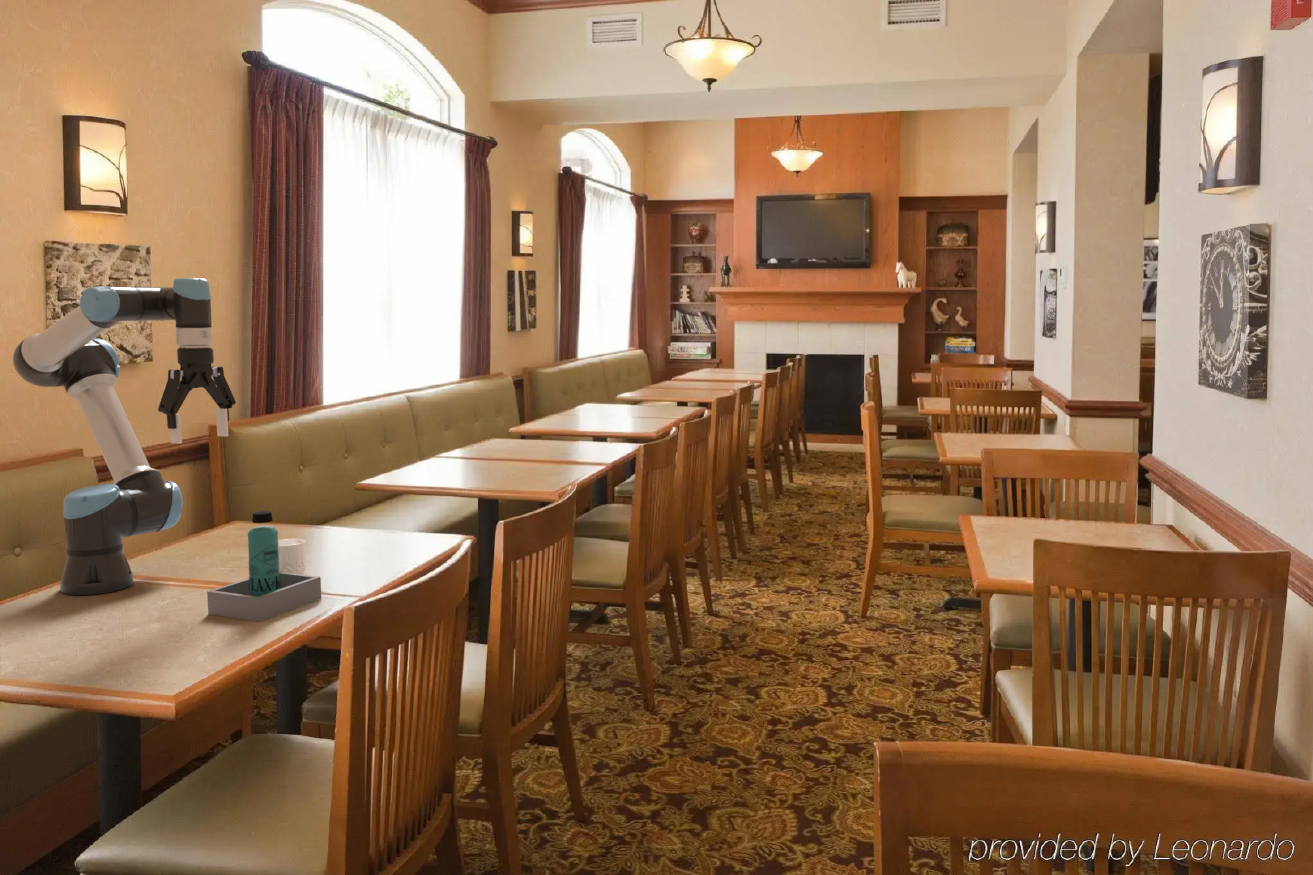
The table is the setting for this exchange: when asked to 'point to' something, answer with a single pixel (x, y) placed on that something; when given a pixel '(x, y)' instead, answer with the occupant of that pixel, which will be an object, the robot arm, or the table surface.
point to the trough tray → (263, 598)
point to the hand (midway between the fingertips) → (200, 439)
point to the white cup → (292, 556)
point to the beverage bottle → (263, 556)
